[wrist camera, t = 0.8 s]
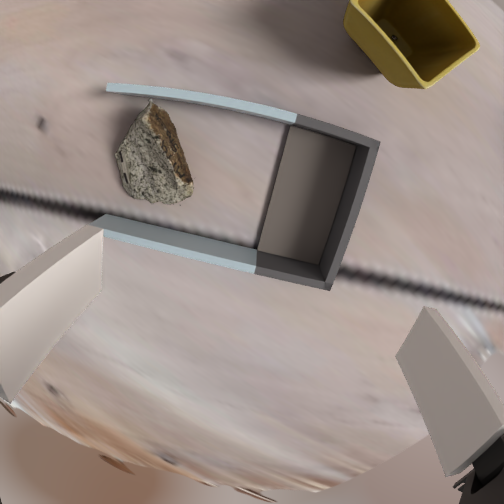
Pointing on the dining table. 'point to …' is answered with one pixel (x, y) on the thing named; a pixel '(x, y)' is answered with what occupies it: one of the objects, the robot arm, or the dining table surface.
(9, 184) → the dining table surface
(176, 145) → the rock sample
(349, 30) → the flower pot
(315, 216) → the grey open box
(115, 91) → the strips
